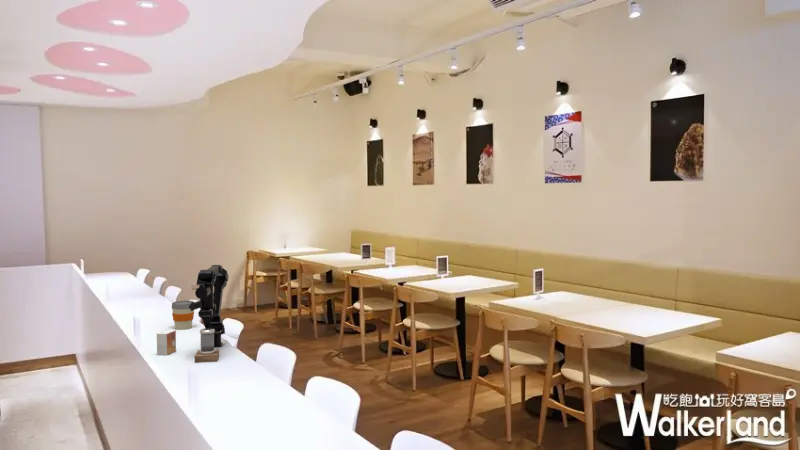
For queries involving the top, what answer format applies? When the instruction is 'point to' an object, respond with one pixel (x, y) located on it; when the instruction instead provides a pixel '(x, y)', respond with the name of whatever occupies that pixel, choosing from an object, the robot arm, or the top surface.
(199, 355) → the stand
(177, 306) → the reusable coffee cup
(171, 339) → the small box
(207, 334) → the cylinder
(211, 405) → the top surface
